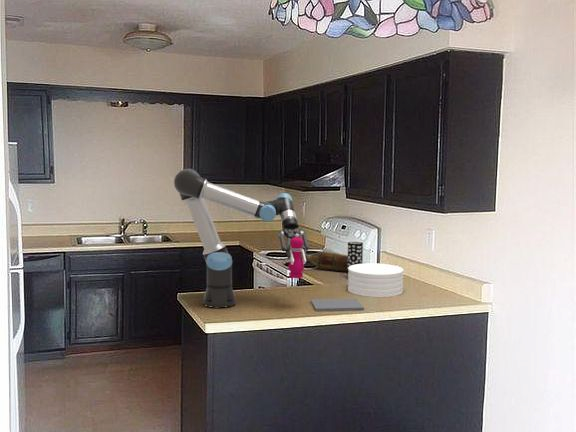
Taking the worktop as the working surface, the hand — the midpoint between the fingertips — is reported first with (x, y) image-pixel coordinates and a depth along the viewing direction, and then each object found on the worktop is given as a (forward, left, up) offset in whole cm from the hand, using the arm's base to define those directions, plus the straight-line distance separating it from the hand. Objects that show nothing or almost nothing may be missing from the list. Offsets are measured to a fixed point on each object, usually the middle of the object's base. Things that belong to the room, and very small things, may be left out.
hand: (298, 262), depth 275 cm
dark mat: (+18, +3, -21) cm, 28 cm away
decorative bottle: (+24, +87, -21) cm, 93 cm away
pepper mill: (-1, +4, -7) cm, 8 cm away
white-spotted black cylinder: (+39, +60, -21) cm, 74 cm away
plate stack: (+44, +32, -22) cm, 58 cm away
